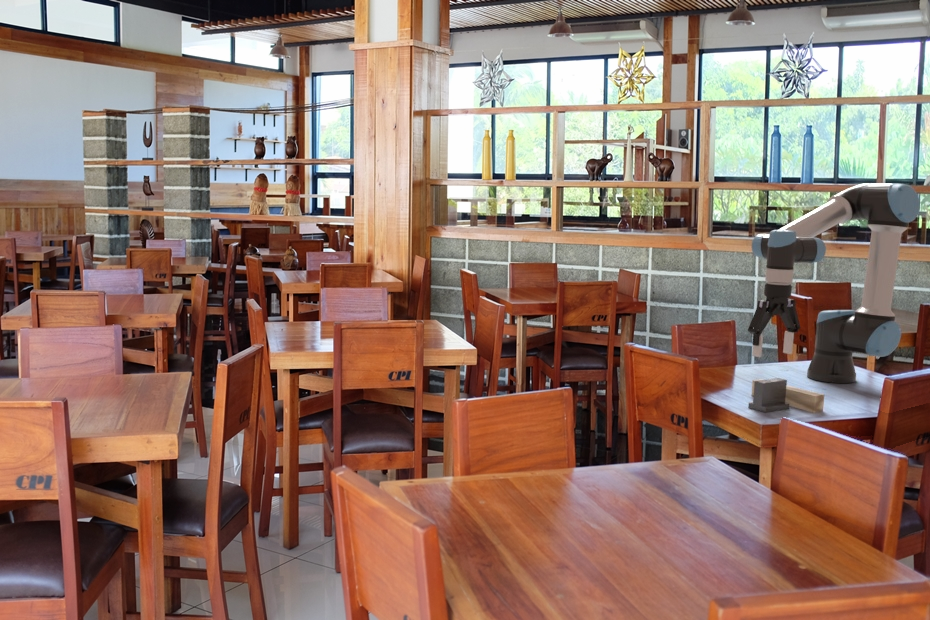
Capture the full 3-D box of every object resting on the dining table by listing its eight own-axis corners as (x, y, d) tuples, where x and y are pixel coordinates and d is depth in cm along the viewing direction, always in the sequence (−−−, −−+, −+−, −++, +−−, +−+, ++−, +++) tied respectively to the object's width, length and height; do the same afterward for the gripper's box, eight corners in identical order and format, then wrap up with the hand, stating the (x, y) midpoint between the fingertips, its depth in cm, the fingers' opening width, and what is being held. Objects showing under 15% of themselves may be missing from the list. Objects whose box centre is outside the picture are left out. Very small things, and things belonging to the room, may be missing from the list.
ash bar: (760, 395, 275) (761, 379, 274) (822, 411, 256) (824, 394, 256) (751, 396, 273) (752, 380, 272) (813, 413, 254) (815, 396, 254)
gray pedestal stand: (771, 404, 263) (774, 376, 262) (789, 408, 258) (791, 381, 257) (748, 407, 257) (750, 380, 256) (765, 412, 252) (767, 384, 251)
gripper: (795, 280, 274) (789, 350, 277) (738, 282, 261) (733, 355, 264) (816, 283, 268) (810, 354, 271) (759, 285, 255) (753, 360, 258)
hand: (772, 355), depth 268 cm, fingers open, 13 cm apart
